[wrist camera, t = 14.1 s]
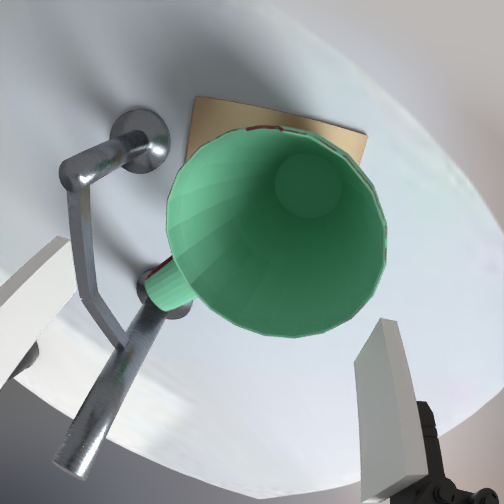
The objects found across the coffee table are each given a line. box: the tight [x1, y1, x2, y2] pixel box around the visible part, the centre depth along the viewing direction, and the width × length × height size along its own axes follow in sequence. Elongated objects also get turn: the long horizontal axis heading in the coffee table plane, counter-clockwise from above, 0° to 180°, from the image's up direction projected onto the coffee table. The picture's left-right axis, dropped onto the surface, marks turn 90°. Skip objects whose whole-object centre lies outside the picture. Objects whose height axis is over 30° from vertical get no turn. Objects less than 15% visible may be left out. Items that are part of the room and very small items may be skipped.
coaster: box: [186, 96, 368, 166], centre depth 23 cm, size 12×12×1 cm
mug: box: [145, 125, 387, 338], centre depth 19 cm, size 15×10×10 cm
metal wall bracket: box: [52, 109, 193, 481], centre depth 18 cm, size 8×19×19 cm, turn 169°
